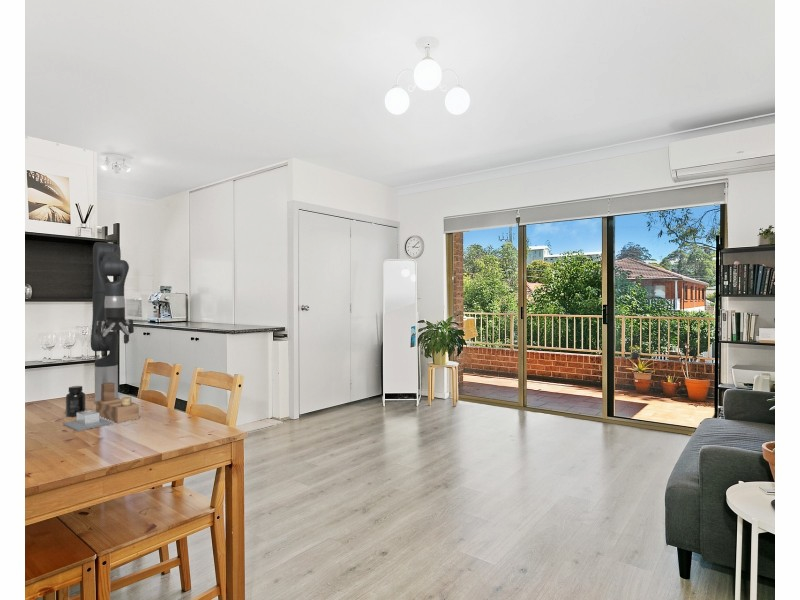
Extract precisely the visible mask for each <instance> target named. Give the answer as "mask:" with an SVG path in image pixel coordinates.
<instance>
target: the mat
mask: <svg viewBox="0 0 800 600" xmlns="http://www.w3.org/2000/svg"><path fill="white" fill-rule="evenodd" d="M113 423H114V422H113V421H110V420H108V419H105V418H102V417H99V423H97V424H92V425H87V426H84V425H82V424H79V423H77V420H73V421H67V422H63V423H62V425H63V426H64V425H65V426H64V427H66V426H67V427H66V428H68V427H69V429H71V430H73V429H74V430H73V431H75V430H76V432H82V431H81V430H83V431H86V430H85V429H88V430H91V429H90V428H93V429H96V428H95V427H98V428H101V427H100V426H103V427H106V426H105V425H107V426H111V425H110V424H112V425H113Z"/></svg>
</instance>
